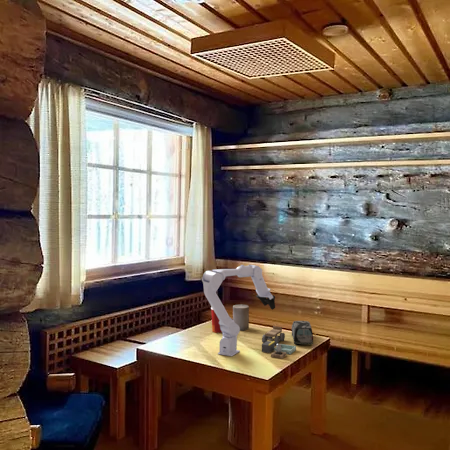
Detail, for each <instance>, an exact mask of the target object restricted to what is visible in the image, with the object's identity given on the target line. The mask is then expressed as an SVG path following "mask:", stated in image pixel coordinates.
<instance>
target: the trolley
mask: <svg viewBox="0 0 450 450" xmlns="http://www.w3.org/2000/svg"><path fill="white" fill-rule="evenodd" d="M282 329H283V327H282V326H275V325H272V328H271V329H270V330H269V331H267V332H266V333H263V334H262V336H261V342H262V344H263V343H265V342H266V341H271V342H273V341H275V346H277V344H280V342H285V341H284V340H285V337H286V333H284V332H283V331H282Z"/></svg>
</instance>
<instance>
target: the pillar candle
mask: <svg viewBox="0 0 450 450" xmlns="http://www.w3.org/2000/svg"><path fill="white" fill-rule="evenodd" d="M232 320H233V321H234V322H235V323H236V324H237V325H238V326H239V327H240V331H247V330H249V329H250V327H249V325H250V306H249V305H248V304H242V303H241V304H235V305H233V306H232Z"/></svg>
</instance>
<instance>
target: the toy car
mask: <svg viewBox="0 0 450 450" xmlns="http://www.w3.org/2000/svg"><path fill="white" fill-rule="evenodd" d="M291 337H292V339H293V345H294V346H295V345H298V344H299V345H309V346H312V345H314V333H313V329H312V325H311V322H310V321H307V320H293V322H292V325H291Z"/></svg>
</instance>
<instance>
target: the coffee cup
mask: <svg viewBox="0 0 450 450" xmlns="http://www.w3.org/2000/svg"><path fill="white" fill-rule="evenodd" d="M210 310H211V329H212V330H211V331H212V333H214V334H221V333H222V331H221V329H220V324H219V321H220V320H219V319H218V317H217V315H216V313H215V312H214V310H213V308H212V306H211V307H210Z"/></svg>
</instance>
